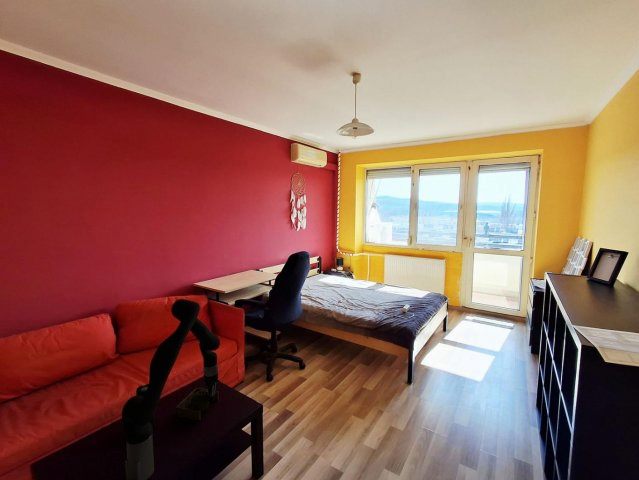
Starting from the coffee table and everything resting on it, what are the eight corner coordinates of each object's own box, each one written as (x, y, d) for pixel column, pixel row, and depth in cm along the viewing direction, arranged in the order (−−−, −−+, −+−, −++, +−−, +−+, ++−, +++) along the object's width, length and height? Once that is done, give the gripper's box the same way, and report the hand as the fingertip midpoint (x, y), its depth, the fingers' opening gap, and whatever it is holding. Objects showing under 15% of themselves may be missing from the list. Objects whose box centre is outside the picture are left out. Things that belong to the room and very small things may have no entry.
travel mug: (147, 431, 146) (145, 393, 144) (134, 428, 148) (132, 391, 145) (158, 420, 153) (156, 384, 151) (145, 418, 155) (144, 382, 153)
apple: (210, 413, 159) (209, 394, 158) (190, 417, 156) (189, 398, 155) (210, 401, 169) (209, 383, 168) (192, 405, 166) (191, 387, 164)
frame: (199, 420, 154) (199, 411, 153) (175, 416, 157) (175, 407, 156) (218, 399, 171) (218, 391, 171) (196, 395, 174) (196, 387, 174)
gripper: (209, 379, 153) (210, 410, 155) (223, 366, 166) (224, 395, 168) (197, 377, 155) (198, 408, 156) (211, 364, 167) (212, 393, 169)
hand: (211, 401), depth 162 cm, fingers closed
